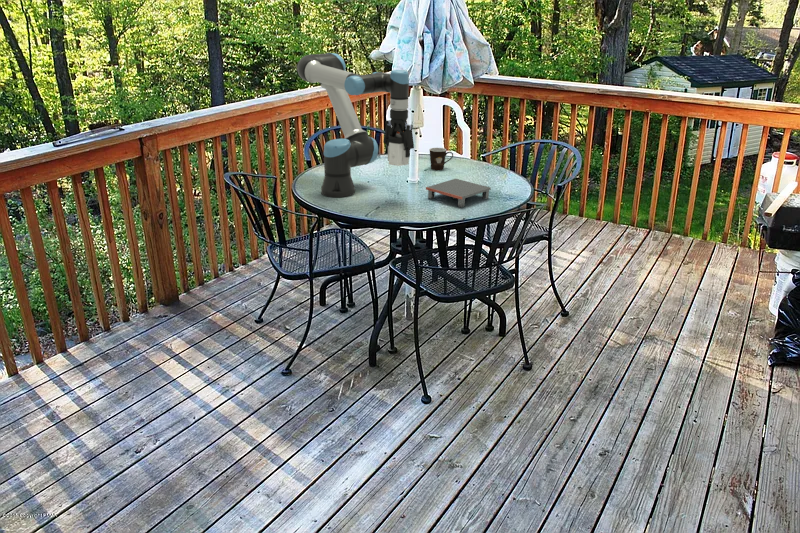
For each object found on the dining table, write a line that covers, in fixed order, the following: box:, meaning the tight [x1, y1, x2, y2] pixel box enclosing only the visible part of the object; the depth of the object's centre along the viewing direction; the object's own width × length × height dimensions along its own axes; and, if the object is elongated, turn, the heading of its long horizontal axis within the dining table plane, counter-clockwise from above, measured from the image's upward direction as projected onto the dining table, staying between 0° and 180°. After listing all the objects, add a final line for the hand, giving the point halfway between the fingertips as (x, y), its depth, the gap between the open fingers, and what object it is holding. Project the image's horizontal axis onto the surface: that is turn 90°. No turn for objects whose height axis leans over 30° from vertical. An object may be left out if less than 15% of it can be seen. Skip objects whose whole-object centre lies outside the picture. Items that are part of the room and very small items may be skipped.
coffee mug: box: [429, 147, 454, 171], centre depth 336 cm, size 12×9×10 cm
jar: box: [388, 133, 408, 167], centre depth 280 cm, size 9×8×12 cm
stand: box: [425, 178, 492, 208], centre depth 291 cm, size 20×21×5 cm
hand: (398, 162), depth 283 cm, fingers closed on jar, 8 cm apart
